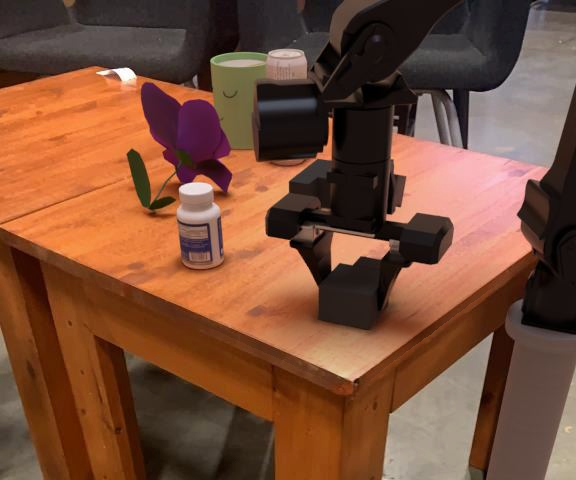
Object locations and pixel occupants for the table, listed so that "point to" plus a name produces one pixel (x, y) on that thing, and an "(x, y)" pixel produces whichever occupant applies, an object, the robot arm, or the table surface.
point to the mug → (236, 93)
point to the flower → (181, 143)
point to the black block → (351, 294)
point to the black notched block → (313, 182)
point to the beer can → (286, 73)
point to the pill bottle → (199, 227)
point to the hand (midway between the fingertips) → (354, 304)
